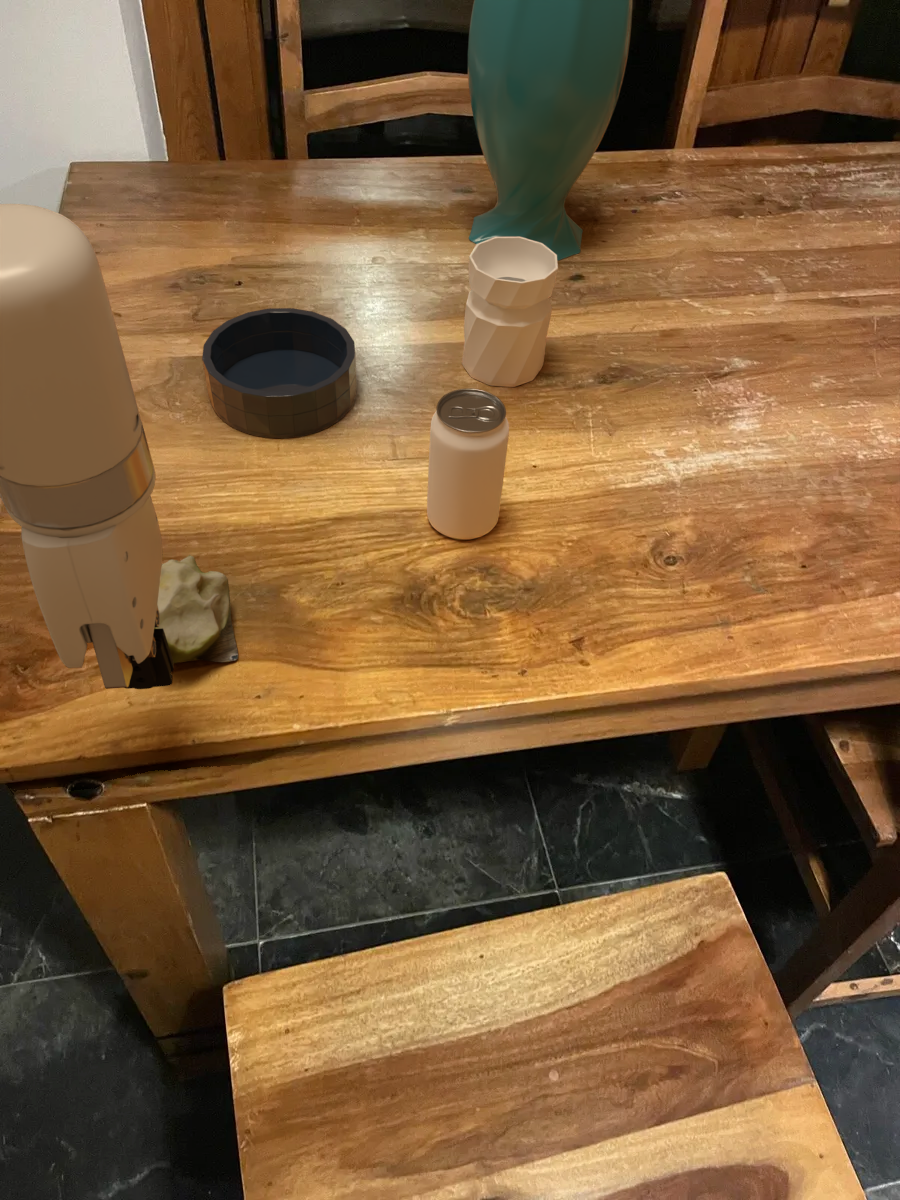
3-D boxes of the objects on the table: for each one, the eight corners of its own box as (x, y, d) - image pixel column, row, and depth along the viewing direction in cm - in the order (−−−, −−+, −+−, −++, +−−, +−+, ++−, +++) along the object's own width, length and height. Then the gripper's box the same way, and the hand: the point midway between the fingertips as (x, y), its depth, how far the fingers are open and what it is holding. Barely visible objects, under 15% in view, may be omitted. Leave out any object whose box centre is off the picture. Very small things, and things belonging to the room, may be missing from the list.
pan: (205, 441, 89) (197, 398, 85) (214, 351, 98) (207, 309, 95) (359, 436, 90) (358, 394, 87) (353, 348, 100) (351, 306, 96)
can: (498, 544, 82) (512, 437, 73) (425, 541, 82) (429, 433, 73) (497, 493, 86) (510, 386, 77) (427, 490, 86) (432, 383, 77)
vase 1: (448, 260, 112) (463, -29, 90) (468, 194, 124) (486, -78, 101) (590, 278, 111) (642, -9, 89) (598, 210, 123) (646, -61, 100)
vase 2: (445, 367, 98) (451, 262, 89) (489, 329, 103) (499, 226, 94) (515, 398, 96) (529, 293, 86) (558, 359, 100) (575, 255, 91)
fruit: (150, 709, 71) (103, 645, 65) (126, 627, 77) (82, 561, 71) (263, 658, 72) (228, 590, 66) (231, 581, 78) (196, 513, 72)
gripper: (23, 377, 51) (104, 594, 65) (-39, 578, 42) (72, 782, 56) (163, 372, 52) (213, 588, 66) (133, 569, 43) (200, 773, 57)
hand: (148, 677), depth 61 cm, fingers closed
